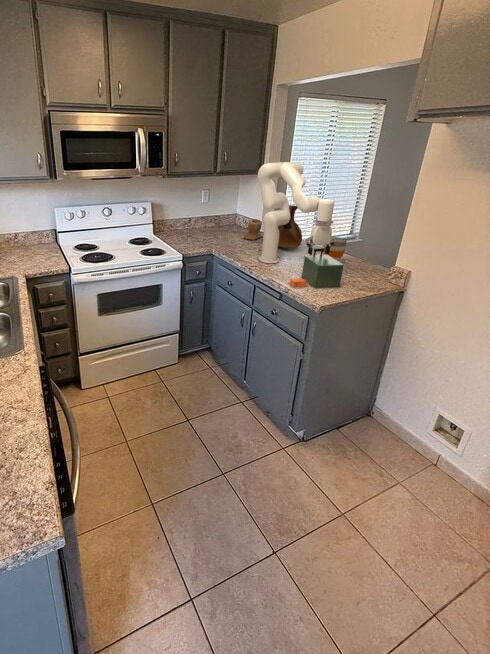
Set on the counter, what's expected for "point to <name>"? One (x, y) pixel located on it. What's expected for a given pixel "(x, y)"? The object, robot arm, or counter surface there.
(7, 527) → the counter surface
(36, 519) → the counter surface
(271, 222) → the robot arm
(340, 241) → the reusable coffee cup
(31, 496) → the counter surface
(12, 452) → the counter surface
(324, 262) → the hinged box lid
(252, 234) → the stone cup
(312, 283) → the green open box
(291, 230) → the ceramic pitcher
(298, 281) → the block
